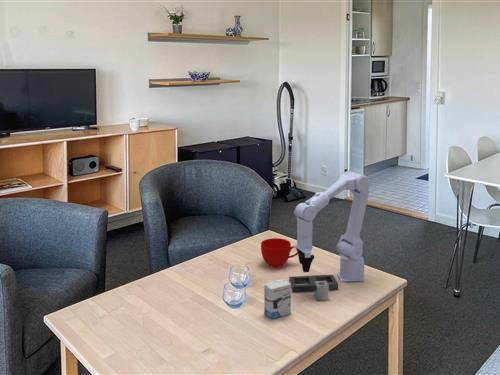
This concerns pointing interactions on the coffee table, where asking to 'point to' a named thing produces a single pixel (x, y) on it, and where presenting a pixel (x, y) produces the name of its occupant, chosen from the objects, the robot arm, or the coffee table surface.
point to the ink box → (277, 298)
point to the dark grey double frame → (311, 282)
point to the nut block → (321, 290)
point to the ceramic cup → (276, 251)
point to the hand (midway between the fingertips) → (304, 267)
